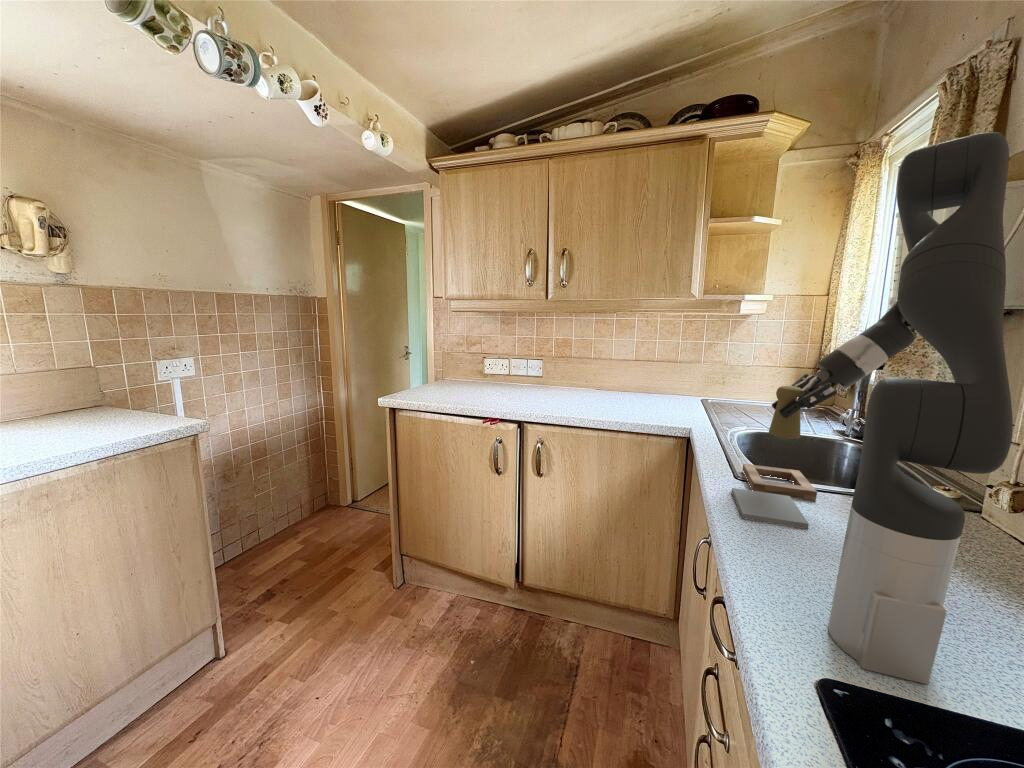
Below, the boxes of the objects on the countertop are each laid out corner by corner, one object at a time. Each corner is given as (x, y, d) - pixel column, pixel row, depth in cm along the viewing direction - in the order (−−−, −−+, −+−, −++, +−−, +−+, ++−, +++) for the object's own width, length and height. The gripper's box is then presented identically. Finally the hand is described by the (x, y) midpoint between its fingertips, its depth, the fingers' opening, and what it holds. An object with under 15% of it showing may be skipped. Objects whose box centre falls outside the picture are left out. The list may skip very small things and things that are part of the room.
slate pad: (808, 528, 77) (808, 523, 77) (742, 518, 81) (742, 513, 80) (788, 500, 88) (789, 495, 88) (731, 492, 92) (732, 487, 92)
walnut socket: (815, 500, 88) (817, 491, 88) (752, 491, 92) (753, 483, 92) (797, 478, 100) (799, 470, 99) (742, 471, 103) (743, 463, 103)
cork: (770, 428, 97) (777, 382, 95) (801, 434, 93) (809, 386, 91) (766, 434, 92) (773, 386, 90) (798, 440, 89) (806, 390, 86)
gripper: (825, 345, 93) (758, 393, 99) (853, 351, 80) (774, 406, 86) (849, 370, 92) (780, 416, 99) (882, 380, 79) (800, 433, 85)
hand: (778, 411), depth 92 cm, fingers closed on cork, 5 cm apart
